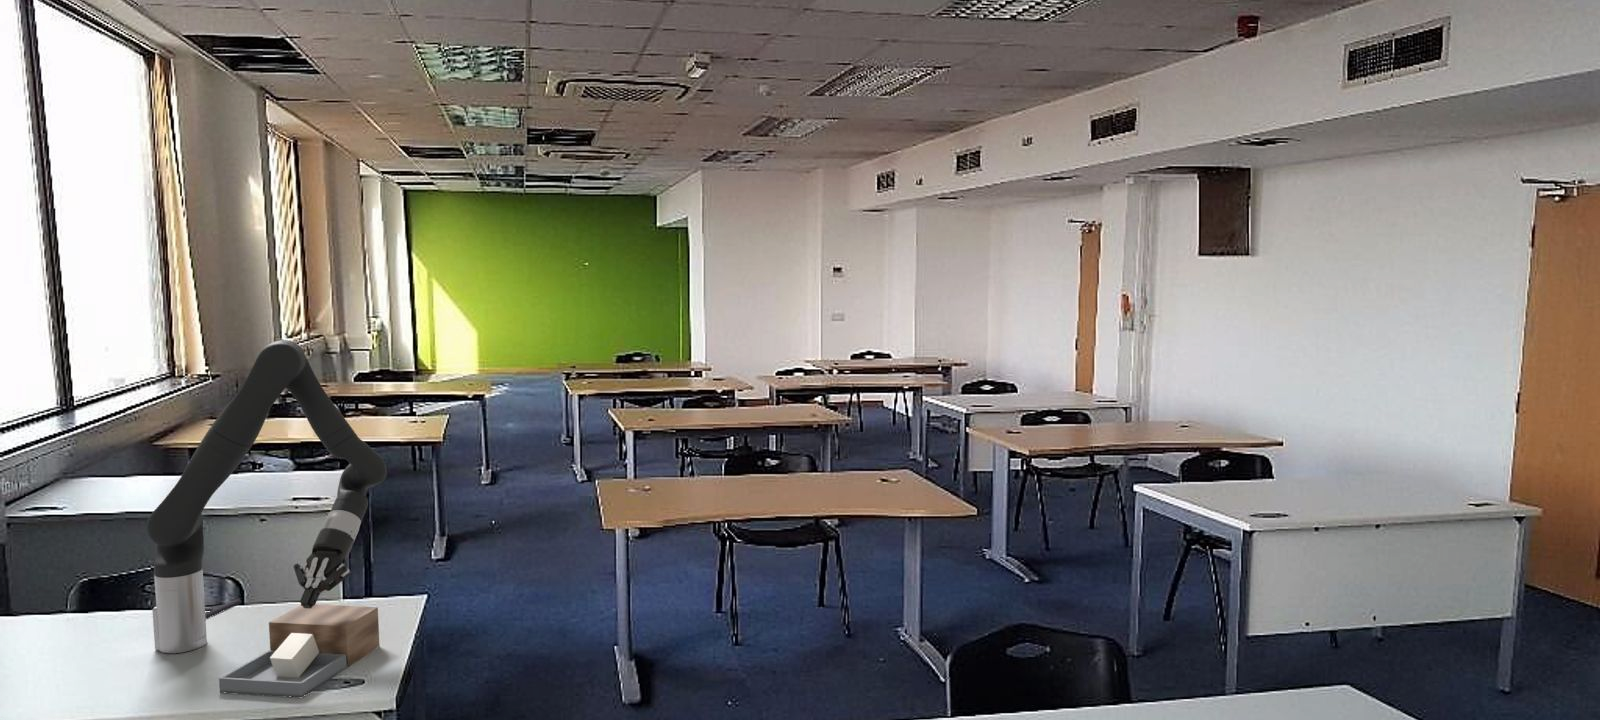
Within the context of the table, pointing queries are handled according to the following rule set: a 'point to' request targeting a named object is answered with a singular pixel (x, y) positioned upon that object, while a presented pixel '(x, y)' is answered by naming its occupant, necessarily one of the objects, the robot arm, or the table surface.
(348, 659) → the walnut platform
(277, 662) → the cream block
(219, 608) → the bracket
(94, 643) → the table surface
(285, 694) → the box
